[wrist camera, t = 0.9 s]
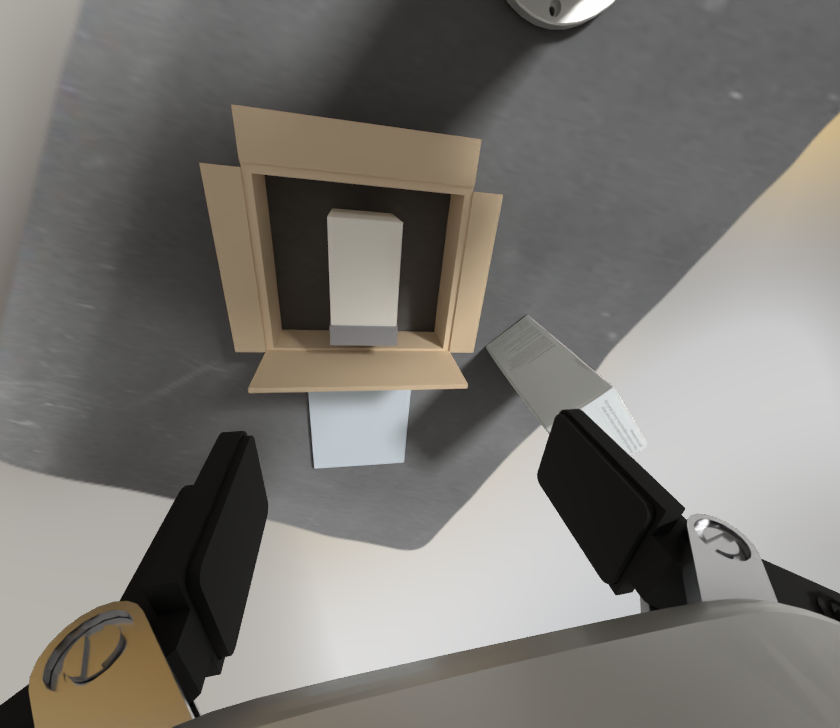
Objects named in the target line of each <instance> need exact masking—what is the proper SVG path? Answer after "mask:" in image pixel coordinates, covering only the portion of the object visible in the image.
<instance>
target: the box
mask: <svg viewBox="0 0 840 728" xmlns="http://www.w3.org/2000/svg"><path fill="white" fill-rule="evenodd" d="M327 228H328V256H329V283H330V310H331V320H330V345H363V346H397V334H398V326H397V309H398V293H399V278H400V262H401V246H402V231H403V222H402V221H400V220H399V219H398V218H397V217H396V216H395V215H393V214H392V213H382V212H371V211H359V210H348V209H336V208H332V209H331V211H330V213H329V214H328V216H327Z"/></svg>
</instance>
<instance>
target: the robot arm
mask: <svg viewBox="0 0 840 728" xmlns="http://www.w3.org/2000/svg"><path fill="white" fill-rule="evenodd" d="M506 1H507V3H508V4H509V5H510V6H511V7H512V8H513V9H514V10H515V11H516V12H517V13H518V14H519V15H520V16H521V17H522V18H524V19H525V20H527V21H529V22H530V23H532V24H533V25H536V26H539V27H542V28H546V29H549V30H565V29H569V28H572V27H576V26H580V25H582V24H583V23H585V22H587V21H589V20H591V19H593V18H594V17H596V16H597V15H599V14H600V13H601V12H603V11H604V10H606V9H607V8H608V7H610V6H611V5H612V4H613V3H614V2H615V1H616V0H506ZM549 10H551V15H550V12H549ZM537 478H538V481H539V484H540V486H541V487H542V489H543V490H544V492H545V493H546V495H547V496H548V498H549V499H550V501H551V503H552V504H553V506H554V507H555V508H556V510H557V512H558V513H559V515H560V516H561V518H562V519H563V521H564V522H565V524H566V526H567V527H568V529H569V530H570V532H571V533H572V535H573V536H574V538H575V540H576V541H577V543H578V544H579V546H580V547H581V549H582V550H583V552H584V553H585V555H586V557H587V558H588V560H589V561H590V563H591V564H592V566H593V567H594V569H595V570H596V572H597V574H598V575H599V577H600V578H601V579H602V580H603V581H604V582H605V583H607V584H609V586H610V587H611V589H612V590H613V592H614V593H615V595H620V594H625V593H630V592H633V590H634V589H636V591H637V592H638V594H639V595H640V601H641V613H640V614H635V615H630V616H626V617H621V618H616V619H611V620H607V621H602V622H597V623H592V624H588V625H583V626H578V627H574V628H568V629H564V630H559V631H554V632H550V633H546V634H540V635H536V636H531V637H526V638H522V639H517V640H512V641H508V642H504V643H498V644H494V645H489V646H485V647H480V648H475V649H471V650H466V651H461V652H457V653H452V654H448V655H443V656H439V657H434V658H430V659H425V660H421V661H416V662H412V663H407V664H402V665H398V666H393V667H389V668H385V669H380V670H375V671H371V672H367V673H362V674H357V675H353V676H348V677H344V678H339V679H335V680H331V681H327V682H323V683H319V684H314V685H310V686H306V687H302V688H298V689H294V690H290V691H285V692H281V693H277V694H273V695H269V696H265V697H260V698H256V699H253V700H249V701H246V702H243V703H240V704H236V705H233V706H230V707H226V708H222V709H219V710H216V711H212V712H210V713H207V714H204V715H201V713H200V711H199V708H198V707H197V704H196V702H195V699H196V698H197V697H198V696H199V695H200V694H201V691H202V687H203V684H204V680H205V677H209V676H214V675H219V674H221V671H222V667H223V663H224V659H225V657H227V656H231V655H232V654H233V652H234V650H235V646H236V642H237V639H238V634H239V631H240V626H241V622H242V618H243V614H244V610H245V605H246V601H247V597H248V593H249V589H250V585H251V580H252V577H253V572H254V568H255V564H256V560H257V556H258V552H259V548H260V543H261V539H262V535H263V531H264V527H265V523H266V519H267V514H268V501H267V496H266V491H265V487H264V482H263V477H262V472H261V468H260V463H259V458H258V454H257V449H256V444H255V440H254V437H253V436H247V433H246V432H245V431H236V432H222V433H221V434H220V435H219V437H218V439H217V440H216V442H215V444H214V446H213V448H212V450H211V452H210V454H209V456H208V458H207V460H206V462H205V464H204V466H203V468H202V470H201V472H200V474H199V476H198V478H197V480H196V482H195V483H194V485H187V486H185V487H183V488H182V489H181V491H180V492H179V494H178V495H177V497H176V499H175V501H174V503H173V505H172V506H171V508H170V510H169V512H168V514H167V515H166V517H165V519H164V522H163V523H162V525H161V527H160V528H159V530H158V532H157V534H156V536H155V537H154V539H153V541H152V543H151V545H150V547H149V548H148V550H147V552H146V554H145V556H144V557H143V559H142V561H141V563H140V565H139V567H138V569H137V570H136V572H135V574H134V576H133V578H132V579H131V581H130V583H129V585H128V587H127V589H126V591H125V592H124V594H123V596H122V598H121V600H120V601H117V602H112V603H109V604H106V605H102V606H99V607H97V608H95V609H93V610H91V611H90V612H88V613H86V614H84V615H82V616H80V617H79V618H78V619H76V620H75V621H74V622H73V623H71V624H70V625H68V626H67V627H66V628H65V629H64V630H62V632H61V633H59V634H58V635H57V636H56V637H55V638H54V639H53V640H52V641H51V642H50V644H49V645H48V646H47V647H46V649H45V650H44V651H43V653H42V654H41V656H40V657H39V658H38V660H37V662H36V664H35V666H34V668H33V671H32V673H31V676H30V680H29V685H27V686H26V687H24V688H23V689H22V690H20V691H19V692H18V693H16V694H15V695H14V696H12V697H11V698H10V699H8V700H7V701H6V702H4V703H3V704H1V705H0V728H840V594H839V593H837V592H835V591H833V590H830V589H828V588H826V587H824V586H821V585H819V584H817V583H815V582H812V581H810V580H808V579H806V578H803V577H801V576H799V575H797V574H794V573H792V572H790V571H788V570H785V569H783V568H781V567H779V566H776V565H774V564H772V563H770V562H767V561H765V560H763V559H761V557H760V555H759V553H758V551H757V549H756V548H755V546H754V544H753V543H752V542H751V541H750V540H749V539H748V538H747V537H746V536H745V535H744V534H742V533H741V532H740V531H739V530H738V529H736V528H734V527H733V526H731V525H729V524H728V523H726V522H725V521H722V520H720V519H718V518H716V517H713V516H709V515H706V514H694V515H691V516H690V517H689V518H688V519H687V520H686V519H685V518H684V517H683V516H682V515H681V514H682V513H683V512H684V510H685V508H684V507H683V506H682V505H681V504H680V503H679V502H678V501H677V500H676V499H675V498H674V497H673V496H672V495H671V494H670V493H669V492H668V491H667V490H666V489H664V488H663V487H662V486H661V485H660V484H659V483H658V482H657V481H656V480H655V479H654V478H653V477H652V476H651V475H650V474H649V473H648V472H647V471H646V470H644V469H643V468H642V467H641V466H640V465H639V464H638V463H637V462H636V461H635V460H634V459H633V458H632V457H631V456H630V455H629V454H628V453H627V452H626V451H625V450H623V449H622V448H621V447H620V446H619V445H618V444H617V443H616V442H615V441H614V440H613V439H612V438H611V437H610V436H609V435H608V434H607V433H606V432H605V431H603V430H602V429H601V428H600V427H599V426H598V425H597V424H596V423H595V422H594V421H593V420H592V419H591V418H590V417H589V416H588V415H587V414H586V413H585V412H584V411H582V410H581V409H565V410H561V411H560V412H559V414H558V415H556V416H555V418H554V422H553V425H552V428H551V431H550V434H549V438H548V441H547V444H546V447H545V451H544V454H543V457H542V460H541V463H540V467H539V470H538V474H537Z"/></svg>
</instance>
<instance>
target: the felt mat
mask: <svg viewBox="0 0 840 728" xmlns="http://www.w3.org/2000/svg"><path fill="white" fill-rule="evenodd" d="M410 393H411V390H374V391H327V392H308V396H309V408H310V421H311V433H312V446H313V458H314V468H329V467H344V466H359V465H374V464H389V463H404V456H405V445H406V435H407V424H408V414H409V403H410Z"/></svg>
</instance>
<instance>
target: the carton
mask: <svg viewBox="0 0 840 728" xmlns="http://www.w3.org/2000/svg"><path fill="white" fill-rule="evenodd" d="M231 108H232V115H233V122H234V129H235V136H236V143H237V150H238V157H239V162H240V165H241V167H235V166H225V165H216V164H206V163H199V165H200V170H201V175H202V180H203V186H204V191H205V196H206V201H207V206H208V212H209V217H210V222H211V227H212V233H213V238H214V243H215V248H216V253H217V259H218V264H219V269H220V274H221V280H222V285H223V290H224V295H225V300H226V306H227V311H228V316H229V321H230V327H231V332H232V337H233V342H234V347H235V352H265V354H264V356H263V358H262V360H261V363H260V365H259V367H258V369H257V371H256V373H255V375H254V377H253V379H252V381H251V383H250V385H249V387H248V392H249V393H280V392H327V391H374V390H420V389H467V387H468V383H467V381H466V380H465V378H464V376H463V374H462V373H461V371H460V369H459V367H458V366H457V364H456V362H455V360H454V359H453V357H452V355H451V353H450V352H458V353H473V351H474V346H475V341H476V336H477V330H478V325H479V320H480V314H481V309H482V304H483V299H484V293H485V288H486V283H487V278H488V272H489V267H490V262H491V256H492V251H493V246H494V241H495V235H496V230H497V225H498V220H499V214H500V209H501V204H502V198H503V195H500V194H491V193H481V192H473V187H474V186H475V180H476V173H477V166H478V160H479V153H480V147H481V140H482V139H475V138H468V137H461V136H454V135H447V134H439V133H432V132H425V131H418V130H411V129H404V128H397V127H389V126H382V125H375V124H368V123H361V122H354V121H347V120H339V119H332V118H325V117H318V116H311V115H304V114H297V113H289V112H282V111H275V110H268V109H261V108H254V107H247V106H240V105H232V104H231ZM265 175H272V176H282V177H292V178H301V179H311V180H321V181H331V182H340V183H350V184H360V185H370V186H379V187H389V188H399V189H408V190H418V191H428V192H438V193H447V194H451V197H450V206H449V214H448V222H447V230H446V238H445V246H444V254H443V263H442V271H441V279H440V287H439V295H438V303H437V312H436V320H435V328H434V332H412V331H398V334H397V346H363V345H330V330H282V324H281V315H280V306H279V298H278V289H277V280H276V271H275V262H274V253H273V244H272V235H271V227H270V218H269V209H268V200H267V191H266V182H265Z"/></svg>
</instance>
